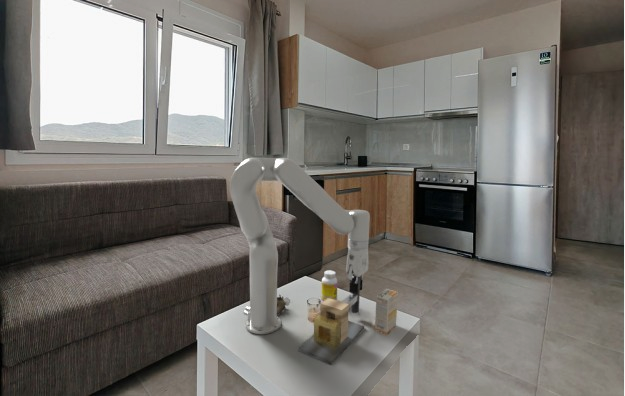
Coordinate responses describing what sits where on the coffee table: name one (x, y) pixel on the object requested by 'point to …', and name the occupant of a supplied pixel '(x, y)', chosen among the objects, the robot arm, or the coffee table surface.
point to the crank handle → (352, 300)
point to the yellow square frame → (324, 339)
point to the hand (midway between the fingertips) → (355, 290)
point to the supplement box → (386, 310)
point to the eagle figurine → (282, 304)
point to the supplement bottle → (329, 286)
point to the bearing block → (346, 332)
